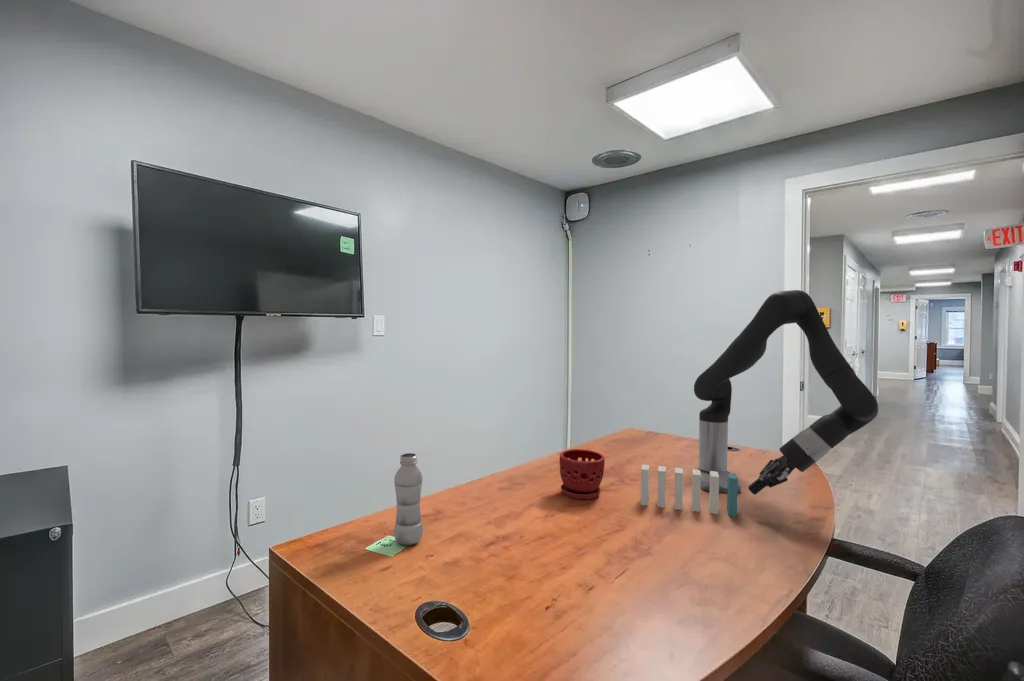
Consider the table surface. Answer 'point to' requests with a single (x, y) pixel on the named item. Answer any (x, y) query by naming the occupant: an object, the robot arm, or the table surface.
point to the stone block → (722, 481)
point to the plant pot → (581, 473)
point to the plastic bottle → (408, 501)
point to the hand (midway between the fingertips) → (750, 491)
